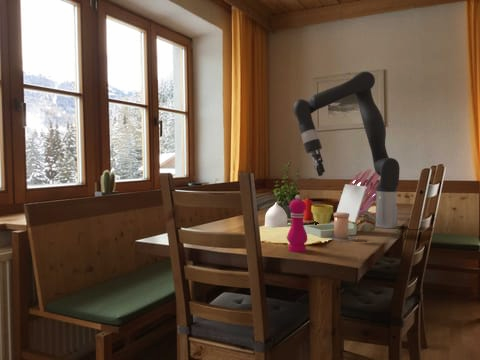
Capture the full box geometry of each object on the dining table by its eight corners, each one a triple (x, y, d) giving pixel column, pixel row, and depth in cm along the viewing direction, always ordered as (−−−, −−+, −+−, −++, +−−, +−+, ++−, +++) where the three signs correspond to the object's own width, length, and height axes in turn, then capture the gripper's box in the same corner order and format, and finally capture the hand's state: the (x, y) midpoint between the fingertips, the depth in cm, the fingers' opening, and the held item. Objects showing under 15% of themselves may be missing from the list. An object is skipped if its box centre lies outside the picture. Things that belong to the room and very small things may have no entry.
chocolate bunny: (376, 233, 187) (377, 211, 186) (358, 232, 188) (358, 210, 187) (375, 231, 192) (376, 209, 191) (357, 230, 193) (358, 209, 193)
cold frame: (345, 229, 195) (346, 184, 194) (365, 235, 182) (366, 186, 181) (302, 233, 186) (302, 185, 184) (320, 239, 173) (321, 187, 172)
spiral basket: (409, 181, 242) (368, 154, 247) (406, 197, 218) (361, 167, 222) (379, 217, 255) (341, 190, 260) (374, 235, 230) (332, 206, 235)
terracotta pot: (342, 236, 175) (343, 212, 175) (352, 238, 170) (352, 214, 169) (330, 237, 173) (330, 212, 172) (339, 239, 167) (339, 214, 166)
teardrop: (292, 226, 204) (292, 201, 203) (274, 228, 198) (274, 203, 197) (277, 223, 213) (277, 199, 212) (260, 225, 207) (260, 200, 206)
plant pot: (332, 227, 200) (333, 207, 200) (310, 227, 202) (311, 206, 202) (332, 224, 211) (332, 204, 210) (311, 223, 213) (311, 204, 212)
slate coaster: (344, 237, 177) (344, 235, 177) (358, 241, 169) (358, 239, 169) (326, 239, 173) (326, 236, 173) (339, 243, 165) (339, 240, 165)
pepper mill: (285, 247, 157) (286, 194, 155) (304, 247, 157) (305, 194, 156) (289, 252, 149) (290, 196, 148) (309, 252, 150) (310, 196, 149)
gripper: (320, 135, 190) (331, 169, 187) (317, 142, 204) (327, 174, 201) (304, 139, 190) (315, 174, 187) (302, 146, 204) (312, 178, 202)
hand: (321, 174), depth 194 cm, fingers open, 8 cm apart
